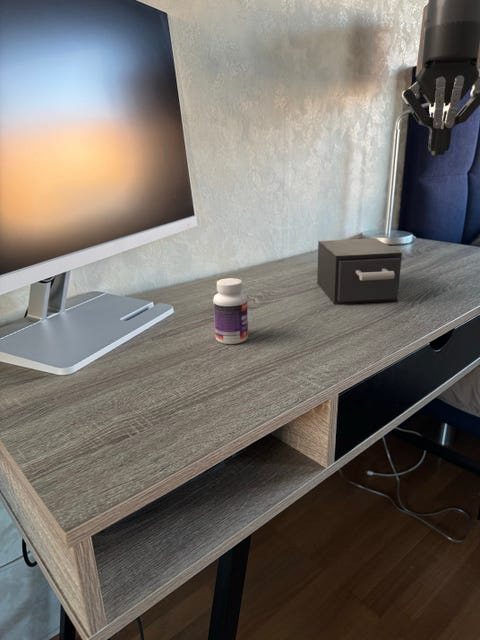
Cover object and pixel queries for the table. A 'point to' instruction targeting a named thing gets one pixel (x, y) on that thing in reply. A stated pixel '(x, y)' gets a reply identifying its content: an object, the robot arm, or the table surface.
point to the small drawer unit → (347, 250)
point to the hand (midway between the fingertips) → (438, 154)
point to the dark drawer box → (368, 279)
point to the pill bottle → (230, 312)
